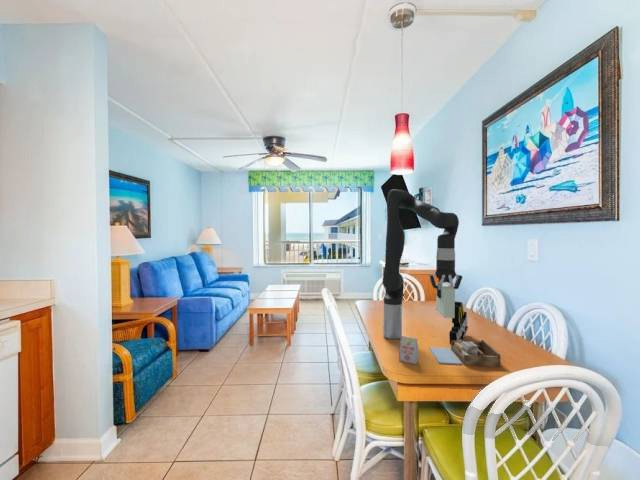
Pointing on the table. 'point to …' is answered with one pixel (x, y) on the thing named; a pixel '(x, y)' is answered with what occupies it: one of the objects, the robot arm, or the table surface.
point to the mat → (445, 356)
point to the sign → (458, 323)
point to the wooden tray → (479, 355)
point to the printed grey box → (408, 350)
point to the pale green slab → (446, 301)
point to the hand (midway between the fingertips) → (445, 298)
